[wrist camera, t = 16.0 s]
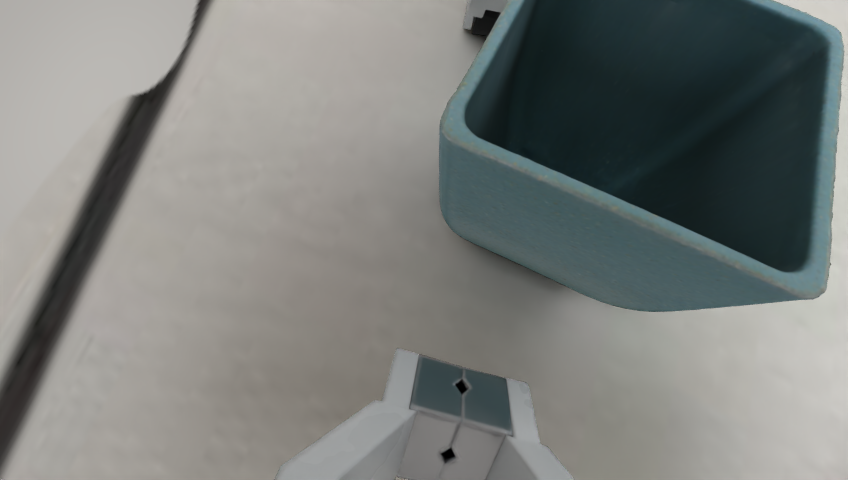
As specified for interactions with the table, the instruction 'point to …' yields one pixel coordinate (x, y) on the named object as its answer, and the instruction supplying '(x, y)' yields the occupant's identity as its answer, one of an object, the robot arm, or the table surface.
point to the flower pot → (651, 149)
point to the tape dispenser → (482, 15)
